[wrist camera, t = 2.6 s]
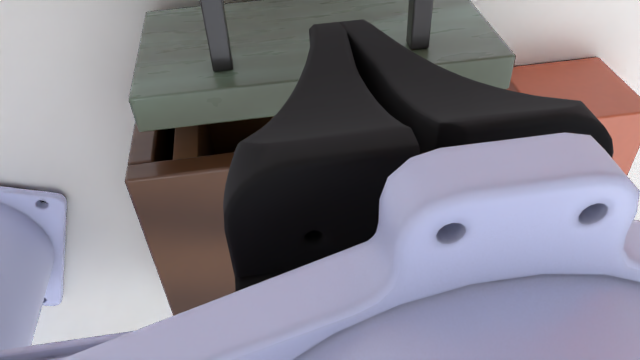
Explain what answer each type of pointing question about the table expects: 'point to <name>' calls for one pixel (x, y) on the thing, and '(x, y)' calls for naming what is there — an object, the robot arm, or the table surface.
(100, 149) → the table surface
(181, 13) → the drawer
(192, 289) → the cabinet
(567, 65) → the block
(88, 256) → the table surface
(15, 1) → the table surface
